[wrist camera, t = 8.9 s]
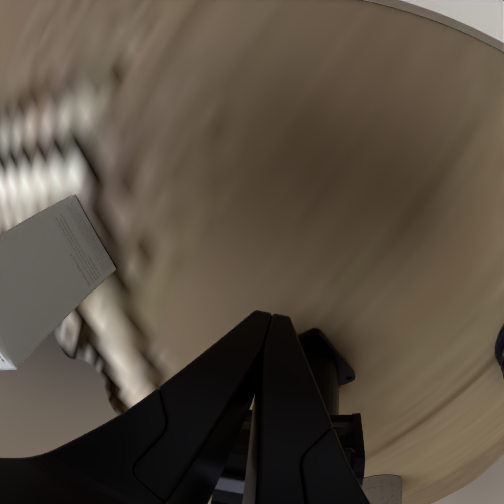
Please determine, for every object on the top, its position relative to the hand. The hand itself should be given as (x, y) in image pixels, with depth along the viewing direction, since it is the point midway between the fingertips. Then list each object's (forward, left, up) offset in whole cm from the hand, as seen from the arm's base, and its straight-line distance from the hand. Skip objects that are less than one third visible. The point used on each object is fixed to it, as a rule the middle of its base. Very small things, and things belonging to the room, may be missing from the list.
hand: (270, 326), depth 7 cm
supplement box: (+8, +18, -12) cm, 23 cm away
